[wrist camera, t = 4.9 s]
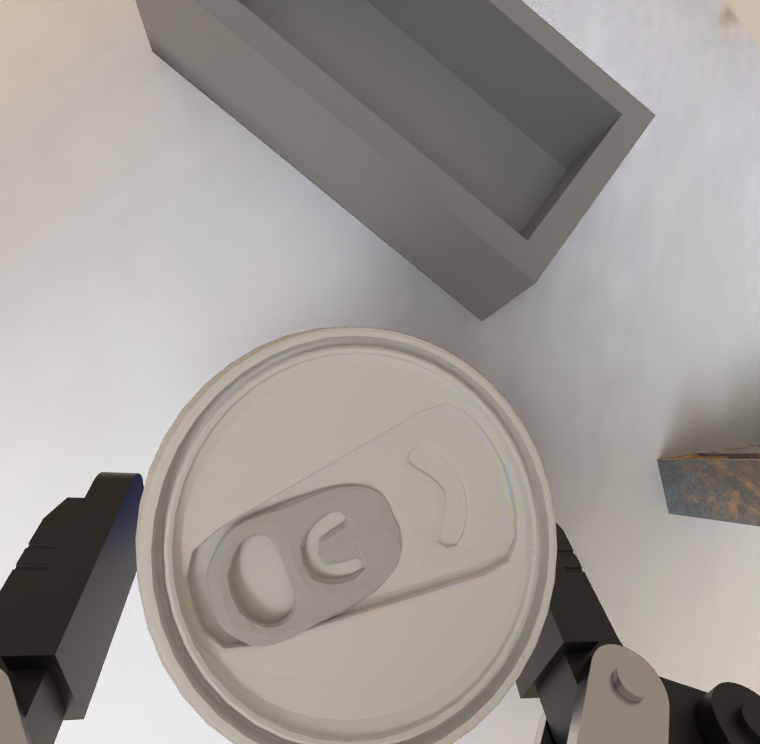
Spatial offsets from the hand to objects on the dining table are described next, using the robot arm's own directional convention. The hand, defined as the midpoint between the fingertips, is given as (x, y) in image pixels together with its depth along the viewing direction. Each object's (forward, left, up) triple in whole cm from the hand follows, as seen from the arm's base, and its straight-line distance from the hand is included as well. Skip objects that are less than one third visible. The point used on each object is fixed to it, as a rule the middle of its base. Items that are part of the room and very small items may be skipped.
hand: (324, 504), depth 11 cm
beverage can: (0, 0, -9) cm, 9 cm away
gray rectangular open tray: (-8, +16, -9) cm, 20 cm away
